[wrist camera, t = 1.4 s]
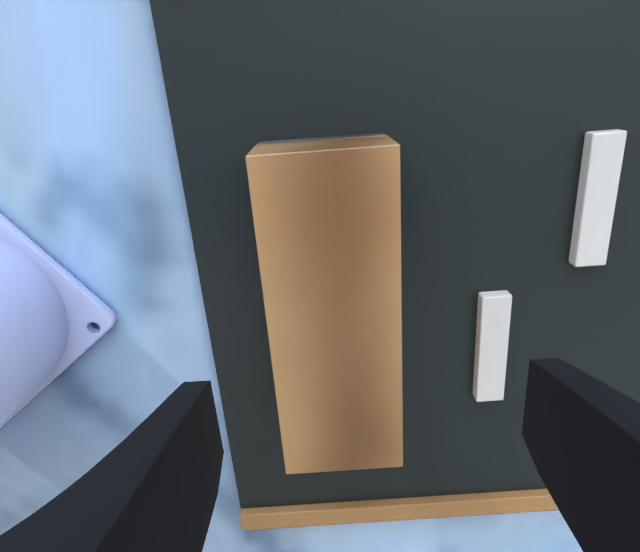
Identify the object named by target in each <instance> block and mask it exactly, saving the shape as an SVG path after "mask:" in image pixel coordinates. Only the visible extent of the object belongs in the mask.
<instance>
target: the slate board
mask: <svg viewBox="0 0 640 552" xmlns="http://www.w3.org/2000/svg"><path fill="white" fill-rule="evenodd" d="M150 6H151V11H152V17H153V22H154V28H155V33H156V39H157V44H158V50H159V56H160V61H161V67H162V72H163V78H164V83H165V89H166V95H167V100H168V106H169V111H170V117H171V122H172V128H173V133H174V139H175V145H176V150H177V156H178V161H179V167H180V172H181V178H182V184H183V189H184V195H185V200H186V206H187V211H188V217H189V222H190V228H191V234H192V239H193V245H194V250H195V256H196V261H197V267H198V273H199V278H200V284H201V289H202V295H203V300H204V306H205V311H206V317H207V323H208V328H209V334H210V339H211V345H212V350H213V356H214V361H215V367H216V373H217V378H218V384H219V389H220V395H221V400H222V406H223V412H224V417H225V423H226V428H227V434H228V439H229V445H230V450H231V456H232V462H233V467H234V473H235V478H236V484H237V489H238V495H239V501H240V506H241V512H240V520H241V525H242V530H258V529H273V528H289V527H304V526H320V525H335V524H350V523H366V522H381V521H397V520H412V519H428V518H443V517H459V516H474V515H490V514H505V513H521V512H536V511H551V510H559V509H558V507H557V506H556V504H555V502H554V500H553V499H552V497H551V495H550V493H549V492H548V490H547V488H546V486H545V485H544V483H543V481H542V479H541V477H540V476H539V474H538V471H537V469H536V467H535V464H534V462H533V460H532V458H531V455H530V453H529V450H528V448H527V445H526V443H525V440H524V438H523V435H522V425H523V416H524V406H525V397H526V388H527V379H528V369H529V360H530V359H545V358H559V359H561V360H563V361H565V362H567V363H569V364H571V365H573V366H575V367H577V368H578V369H580V370H582V371H584V372H586V373H587V374H589V375H591V376H593V377H594V378H596V379H598V380H600V381H602V382H603V383H605V384H607V385H609V386H610V387H612V388H614V389H616V390H617V391H619V392H621V393H623V394H624V395H626V396H628V397H630V398H632V399H633V400H635V401H637V402H639V403H640V0H150ZM614 129H619V130H625V131H627V136H626V142H625V148H624V155H623V161H622V167H621V173H620V179H619V186H618V192H617V198H616V204H615V210H614V217H613V223H612V229H611V235H610V241H609V247H608V254H607V260H606V264H605V265H598V266H584V267H575V266H573V265H572V264H570V263H569V253H570V245H571V238H572V230H573V222H574V215H575V207H576V199H577V192H578V184H579V176H580V169H581V161H582V153H583V145H584V138H585V133H586V132H588V131H601V130H614ZM380 132H382V133H384V134H385V135H388V136H389V137H390V138H392V139H393V140H394V141H396V142H397V143H398V144H400V179H401V288H402V397H403V466H402V467H389V468H374V469H359V470H344V471H329V472H314V473H299V474H286V471H285V463H284V456H283V448H282V440H281V432H280V424H279V417H278V409H277V401H276V393H275V385H274V377H273V370H272V362H271V354H270V346H269V338H268V331H267V323H266V315H265V307H264V299H263V292H262V284H261V276H260V268H259V260H258V252H257V245H256V237H255V229H254V221H253V213H252V206H251V198H250V190H249V182H248V174H247V167H246V159H245V157H246V155H247V154H248V153H249V152H250V151H251V150H252V148H253V147H254V146H255V145H256V144H257V143H258V142H262V141H275V140H288V139H301V138H314V137H327V136H340V135H354V134H367V133H380ZM501 290H507V291H508V292H509V293H510V294H511V295H512V306H511V317H510V329H509V341H508V352H507V364H506V376H505V387H504V399H503V400H498V401H483V402H477V401H476V400H475V398H474V396H473V376H474V358H475V341H476V323H477V305H478V293H479V292H487V291H501Z"/></svg>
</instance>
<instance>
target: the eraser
mask: <svg viewBox="0 0 640 552" xmlns="http://www.w3.org/2000/svg"><path fill="white" fill-rule="evenodd" d="M245 159H246V167H247V174H248V182H249V190H250V198H251V206H252V213H253V221H254V229H255V237H256V245H257V252H258V260H259V268H260V276H261V284H262V292H263V299H264V307H265V315H266V323H267V331H268V338H269V346H270V354H271V362H272V370H273V377H274V385H275V393H276V401H277V409H278V417H279V424H280V432H281V440H282V448H283V456H284V463H285V471H286V474H299V473H314V472H329V471H344V470H359V469H374V468H389V467H402V466H403V397H402V288H401V179H400V144H398V143H397V142H396V141H394V140H393V139H392V138H390V137H389V136H388V135H385V134H384V133H382V132H380V133H367V134H354V135H340V136H327V137H314V138H301V139H288V140H275V141H262V142H258V143H257V144H256V145H255V146H254V147H253V148H252V150H251V151H250V152H249V153H248V154H247V155H246V157H245Z"/></svg>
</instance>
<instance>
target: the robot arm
mask: <svg viewBox="0 0 640 552" xmlns="http://www.w3.org/2000/svg"><path fill="white" fill-rule="evenodd" d="M91 322H95V323H96V324H98V325H99V327H100V329H96V328H94V327H93V326H92V325H91ZM115 322H116V314H115V313H114V311H113V310H112V309H111V308H109V307H108V306H107V305H106V304H105V303H104V302H102V301H101V300H100V299H99V298H98V297H97V296H96V295H94V294H93V293H92V292H91V291H90V290H89V289H87V288H86V287H85V286H84V285H83V284H82V283H80V282H79V281H78V280H77V279H76V278H75V277H74V276H72V275H71V274H70V273H69V272H68V271H67V270H65V269H64V268H63V267H62V266H61V265H60V264H58V263H57V262H56V261H55V260H54V259H53V258H52V257H50V256H49V255H48V254H47V253H46V252H45V251H43V250H42V249H41V248H40V247H39V246H38V245H36V244H35V243H34V242H33V241H32V240H31V239H29V238H28V237H27V236H26V235H25V234H24V233H23V232H21V231H20V230H19V229H18V228H17V227H16V226H14V225H13V224H12V223H11V222H10V221H9V220H7V219H6V218H5V217H4V216H3V215H2V214H1V213H0V428H1V427H2V426H3V425H4V424H5V423H6V422H7V421H9V420H10V419H11V418H12V417H13V416H14V415H15V414H16V413H17V412H19V411H20V410H21V409H22V408H23V407H24V406H25V405H26V404H27V403H29V402H30V401H31V400H32V399H33V398H34V397H35V396H36V395H37V394H39V393H40V392H41V391H42V390H43V389H44V388H45V387H46V386H47V385H49V384H50V383H51V382H52V381H53V380H54V379H55V378H56V377H57V376H59V375H60V374H61V373H62V372H63V371H64V370H65V369H66V368H67V367H69V366H70V365H71V364H72V363H73V362H74V361H75V360H76V359H77V358H79V357H80V356H81V355H82V354H83V353H84V352H85V351H86V350H87V349H89V348H90V347H91V346H92V345H93V344H94V343H95V342H96V341H97V340H99V339H100V338H101V337H102V336H103V335H104V334H105V333H106V332H107V331H109V330H110V329H111V328H112V326H113V325H114V324H115ZM522 435H523V438H524V440H525V443H526V445H527V448H528V450H529V453H530V455H531V458H532V460H533V462H534V464H535V467H536V469H537V471H538V474H539V476H540V477H541V479H542V481H543V483H544V485H545V486H546V488H547V490H548V492H549V493H550V495H551V497H552V499H553V500H554V502H555V504H556V506H557V507H558V509H559V511H560V512H561V514H562V516H563V518H564V519H565V521H566V523H567V524H568V526H569V528H570V530H571V531H572V533H573V535H574V536H575V538H576V540H577V541H578V543H579V545H580V547H581V548H582V550H583V552H640V403H639V402H637V401H635V400H633V399H632V398H630V397H628V396H626V395H624V394H623V393H621V392H619V391H617V390H616V389H614V388H612V387H610V386H609V385H607V384H605V383H603V382H602V381H600V380H598V379H596V378H594V377H593V376H591V375H589V374H587V373H586V372H584V371H582V370H580V369H578V368H577V367H575V366H573V365H571V364H569V363H567V362H565V361H563V360H561V359H559V358H545V359H530V360H529V369H528V379H527V388H526V397H525V406H524V416H523V425H522ZM223 453H224V451H223V446H222V441H221V435H220V430H219V424H218V419H217V414H216V408H215V403H214V398H213V392H212V387H211V381H196V382H184V383H183V384H181V385H180V386H179V387H178V388H177V389H176V390H175V391H174V392H173V393H172V394H171V395H170V396H169V397H168V398H167V399H166V400H165V401H164V402H163V403H162V404H161V405H160V406H159V407H158V408H157V409H156V410H155V411H154V412H153V413H152V414H151V415H150V416H149V417H148V418H147V419H146V420H144V421H143V422H142V423H141V424H140V425H139V426H138V427H137V428H136V429H135V430H134V431H133V432H132V433H131V434H130V435H129V436H128V437H127V438H126V439H125V440H124V441H122V442H121V443H120V444H119V445H118V446H117V447H116V448H114V449H113V450H112V451H111V452H110V453H109V454H108V455H106V456H105V457H104V458H103V459H102V460H101V461H100V462H98V463H97V464H96V465H95V466H94V467H93V468H92V469H90V470H89V471H88V472H87V473H86V474H85V475H83V476H82V477H81V478H80V479H78V480H77V481H76V482H75V483H73V484H72V485H71V486H70V487H68V488H67V489H66V490H64V491H63V492H62V493H60V494H59V495H58V496H56V497H55V498H54V499H52V500H51V501H50V502H48V503H47V504H46V505H44V506H43V507H42V508H40V509H39V510H38V511H36V512H35V513H33V514H32V515H30V516H29V517H28V518H26V519H24V520H23V521H21V522H20V523H18V524H17V525H15V526H14V527H12V528H11V529H9V530H8V531H6V532H5V533H3V534H2V535H0V552H202V549H203V545H204V542H205V538H206V535H207V531H208V527H209V524H210V520H211V516H212V513H213V509H214V505H215V502H216V498H217V494H218V487H219V481H220V475H221V467H222V460H223Z"/></svg>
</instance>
